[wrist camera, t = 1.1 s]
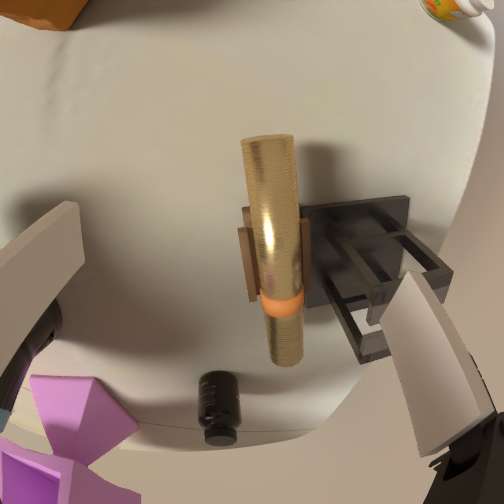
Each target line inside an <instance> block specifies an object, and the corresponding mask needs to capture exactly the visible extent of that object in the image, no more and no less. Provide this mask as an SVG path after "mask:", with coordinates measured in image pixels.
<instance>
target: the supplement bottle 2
mask: <svg viewBox="0 0 504 504" xmlns="http://www.w3.org/2000/svg"><path fill="white" fill-rule="evenodd" d="M419 1H420V3H421V5H422V7H423V8H424V10H425V11H426V12H427V13H428V14H429V15H430V16H431V17H433V18H434V19H436V20H439V21H447V20H453V19H461V18H468V17H477V16H480V15H481V14H482V12H483V10H485V11H486V10H492V9H493V8H494V0H419Z"/></svg>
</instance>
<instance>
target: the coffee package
mask: <svg viewBox="0 0 504 504" xmlns="http://www.w3.org/2000/svg"><path fill="white" fill-rule="evenodd" d="M88 1H89V0H0V15H1V16H4V17H7V18H9V19H12V20H14V21H16V22H18V23H22V24H25V25H27V26H30V27H33V28H36V29H39V30H51V31H66V30H67V29H69V27H70V26H71V25H72V23H73V22H74V20H75V19H76V17H77V16H78V14H79V13H80V11H81V10H82V9H83V7H84V6H85V4H86V3H87V2H88Z"/></svg>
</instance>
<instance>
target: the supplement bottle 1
mask: <svg viewBox="0 0 504 504" xmlns="http://www.w3.org/2000/svg"><path fill="white" fill-rule="evenodd" d="M241 421H242V420H241V408H240V398H239V387H238V381H237V379H236V378H235V377H234V376H233V375H231V374H229V373H227V372H221V371H215V372H210V373H207V374H205V375H203V376H202V377H201V378H200V380H199V391H198V422H199V424H200V426H201V427H202V428H203V429H205V430H204V435H205V442H206V443H207V444H209V445H213V446H229V445H233V444H234V443H236V442H237V435H236V434H237V431H236V429H237V428H238V427H239V426H240V424H241Z"/></svg>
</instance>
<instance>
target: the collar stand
mask: <svg viewBox="0 0 504 504" xmlns="http://www.w3.org/2000/svg"><path fill="white" fill-rule="evenodd" d="M408 207H409V197H407V196H405V195H403V196H393V197H383V198H374V199H365V200H356V201H348V202H340V203H332V204H324V205H316V206H309V207H301V213H302V218H307V219H308V220H309V221H310V243H311V292H306V293H304V304H305V307H306V308H311V307H316V306H321V305H326V304H331V305H332V307H333V309H334V311H335V313H336V315H337V317H338V319H339V321H340V323H341V325H342V327H343V329H344V331H345V334H346V336H347V338H348V340H349V342H350V344H351V346H352V348H353V350H354V353H355V355H356V357H357V359H358V361H359V363H360V365H361V364H365V363H368V362H372V361H375V360H378V359H381V358H384V357H387V356H390V355H391V352H390V349H389V346H388V343H387V341H386V338H385V335H384V332H383V330H380V331H376V332H373V333H369V334H365V335H363V336H362V334H361V332H360V330H359V328H358V326H357V325H356V323H355V321H354V319H353V317H352V315H351V313H350V312H353V311H357V310H361V309H365V308H368V312H367V318H366V321H367V323H368V324H369V326H372V325H376V324H379V323H380V322H379V320H380V318H381V316H382V315H383V313H384V312H385V310H386V308H387V307H388V305H389V303H390V302H391V300H392V298H393V296H394V295H395V293H396V291H397V289H398V288H399V286H400V284H401V282H402V280H403V279H404V278H400V279H398V274H399V269H400V263H401V258H402V252H403V247H404V248H405V249H406V250H407V251H408V252H409V253H410V254H411V255H412V256H413V257H414V258H415V259H416V260H417V261H418V262H419V263H420V264H421V265H422V266H423V267H424V268H425V269H426V270H427V271H428V272H424V273H421V274H422V275H423V276H424V278H425V279H426V281H427V282H428V284H429V286H430V287H431V289H432V290H433V292H434V293H435V295H436V296H437V298H438V300H439V301H440V303H441V304H442V303H444V300H445V298H446V295H447V292H448V289H449V286H450V282H451V279H452V276H453V271H452V270H451V269H450V268H449V267H448V266H447V265H446V264H445V263H444V262H443V261H442V260H441V259H440V258H439V257H438V256H437V255H435V254H434V253H433V252H432V251H431V250H430V249H429V248H428V247H427V246H425V245H424V244H423V243H422V242H421V241H420V240H419V239H417V238H416V237H415V236H414V235H413V234H412V233H410V232H409V231H408V230H407V229H406V224H407V216H408Z"/></svg>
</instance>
